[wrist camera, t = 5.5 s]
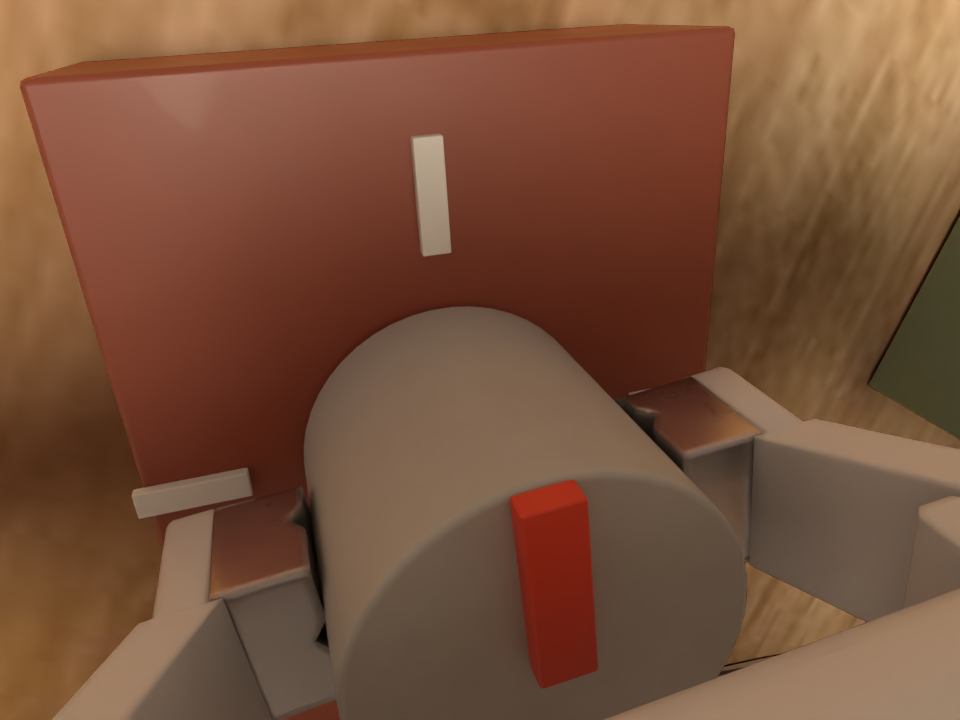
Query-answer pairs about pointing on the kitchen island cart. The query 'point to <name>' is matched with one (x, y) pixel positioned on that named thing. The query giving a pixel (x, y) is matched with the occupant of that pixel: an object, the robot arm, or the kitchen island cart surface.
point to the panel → (376, 222)
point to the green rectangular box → (929, 346)
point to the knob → (505, 534)
